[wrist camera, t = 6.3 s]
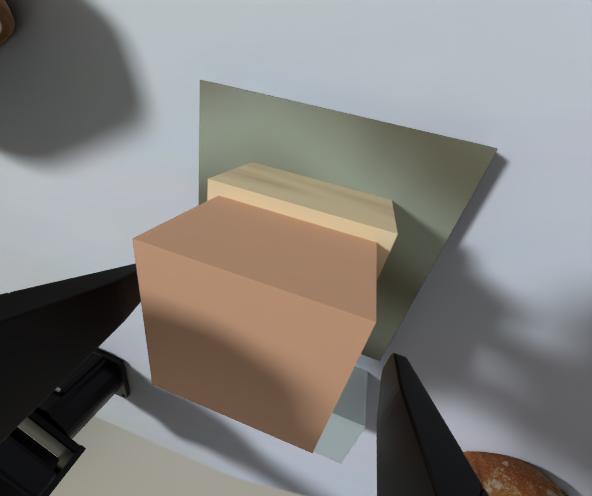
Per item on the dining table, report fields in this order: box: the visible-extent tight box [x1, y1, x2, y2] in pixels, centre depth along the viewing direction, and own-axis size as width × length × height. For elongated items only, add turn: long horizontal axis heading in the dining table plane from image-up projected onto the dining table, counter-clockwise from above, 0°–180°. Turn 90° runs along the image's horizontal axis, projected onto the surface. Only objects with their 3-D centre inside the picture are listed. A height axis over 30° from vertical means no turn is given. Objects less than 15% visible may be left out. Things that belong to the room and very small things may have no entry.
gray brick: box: [314, 367, 368, 463], centre depth 19 cm, size 5×5×4 cm
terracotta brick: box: [133, 196, 377, 453], centre depth 9 cm, size 6×6×4 cm
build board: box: [199, 80, 497, 361], centre depth 13 cm, size 13×13×5 cm
